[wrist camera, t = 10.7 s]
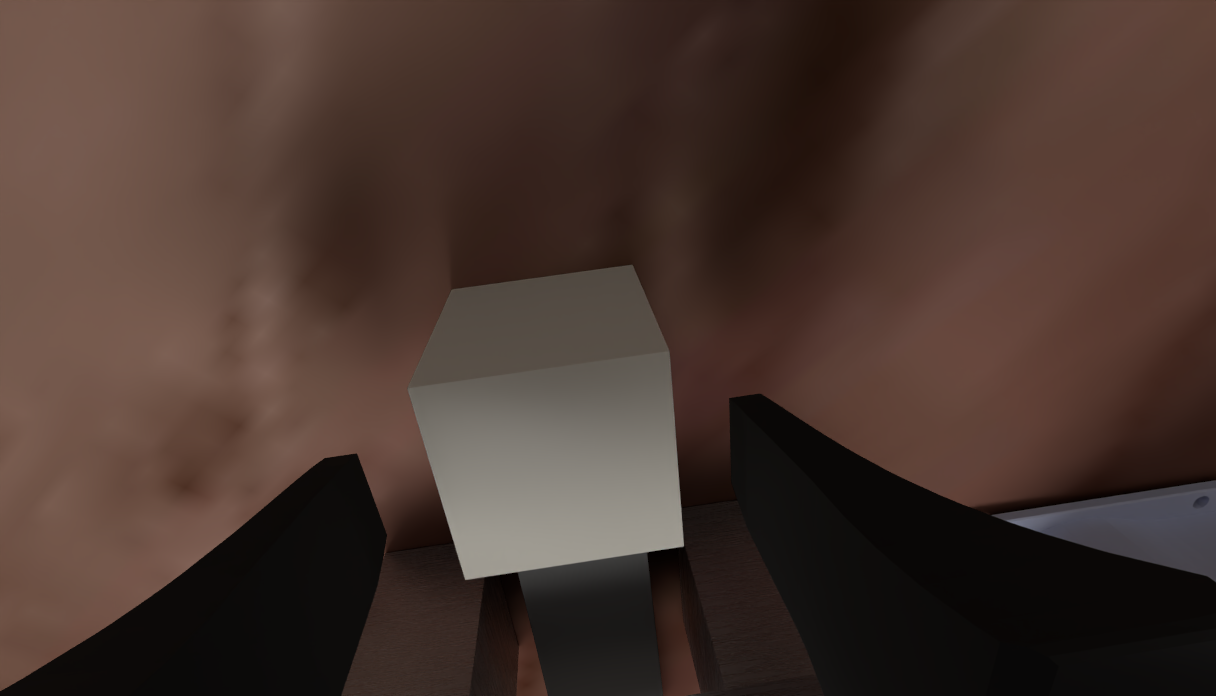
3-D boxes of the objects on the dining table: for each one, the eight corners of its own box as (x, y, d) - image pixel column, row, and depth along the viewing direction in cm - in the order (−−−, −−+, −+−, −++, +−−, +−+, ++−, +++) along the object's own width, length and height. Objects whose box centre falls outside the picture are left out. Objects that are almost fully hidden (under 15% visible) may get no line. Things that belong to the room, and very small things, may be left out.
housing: (775, 494, 18) (888, 706, 12) (773, 607, 20) (868, 835, 14) (385, 553, 18) (300, 803, 12) (426, 662, 20) (373, 921, 14)
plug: (632, 264, 15) (669, 350, 10) (674, 697, 22) (707, 859, 17) (451, 289, 14) (407, 388, 10) (555, 716, 22) (557, 884, 17)
